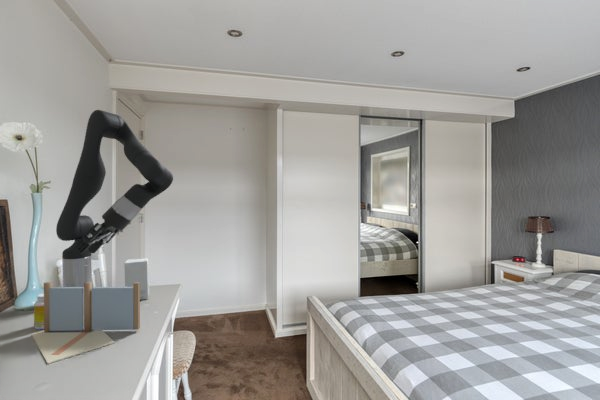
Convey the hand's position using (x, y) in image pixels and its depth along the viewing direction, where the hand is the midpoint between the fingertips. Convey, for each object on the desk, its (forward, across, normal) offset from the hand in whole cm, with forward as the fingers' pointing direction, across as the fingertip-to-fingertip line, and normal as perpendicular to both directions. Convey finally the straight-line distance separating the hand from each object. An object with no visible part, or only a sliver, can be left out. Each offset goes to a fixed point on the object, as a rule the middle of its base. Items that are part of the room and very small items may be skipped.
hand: (84, 252), depth 98 cm
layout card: (+19, +3, +16) cm, 25 cm away
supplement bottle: (+26, -7, +5) cm, 27 cm away
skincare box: (+10, -30, +18) cm, 36 cm away
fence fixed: (+21, -2, +13) cm, 24 cm away
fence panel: (+12, 0, +23) cm, 26 cm away
